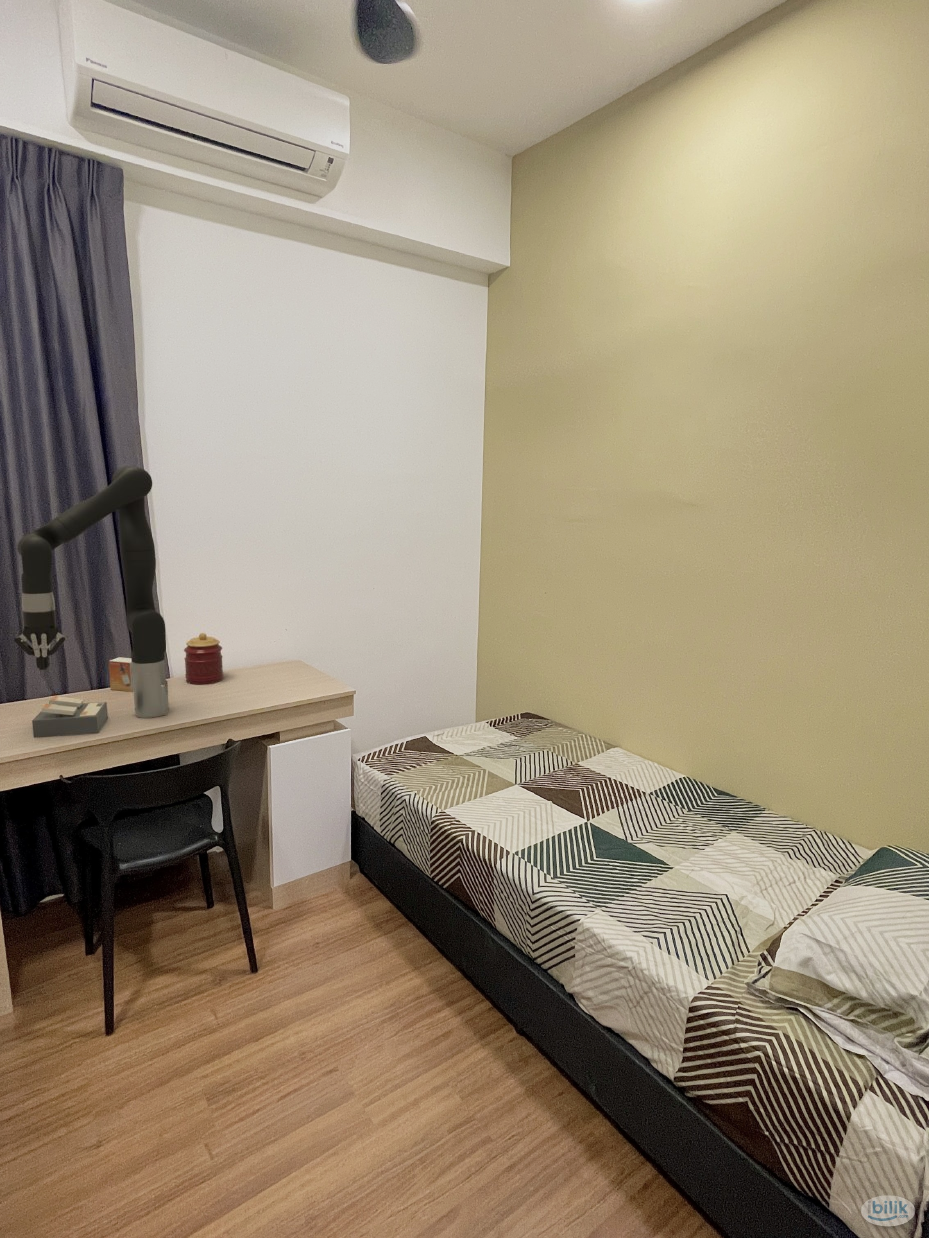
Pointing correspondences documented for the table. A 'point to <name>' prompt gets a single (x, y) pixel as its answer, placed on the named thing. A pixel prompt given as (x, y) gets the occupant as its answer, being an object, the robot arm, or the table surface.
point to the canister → (203, 660)
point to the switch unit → (71, 721)
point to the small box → (121, 674)
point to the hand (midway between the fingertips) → (43, 669)
